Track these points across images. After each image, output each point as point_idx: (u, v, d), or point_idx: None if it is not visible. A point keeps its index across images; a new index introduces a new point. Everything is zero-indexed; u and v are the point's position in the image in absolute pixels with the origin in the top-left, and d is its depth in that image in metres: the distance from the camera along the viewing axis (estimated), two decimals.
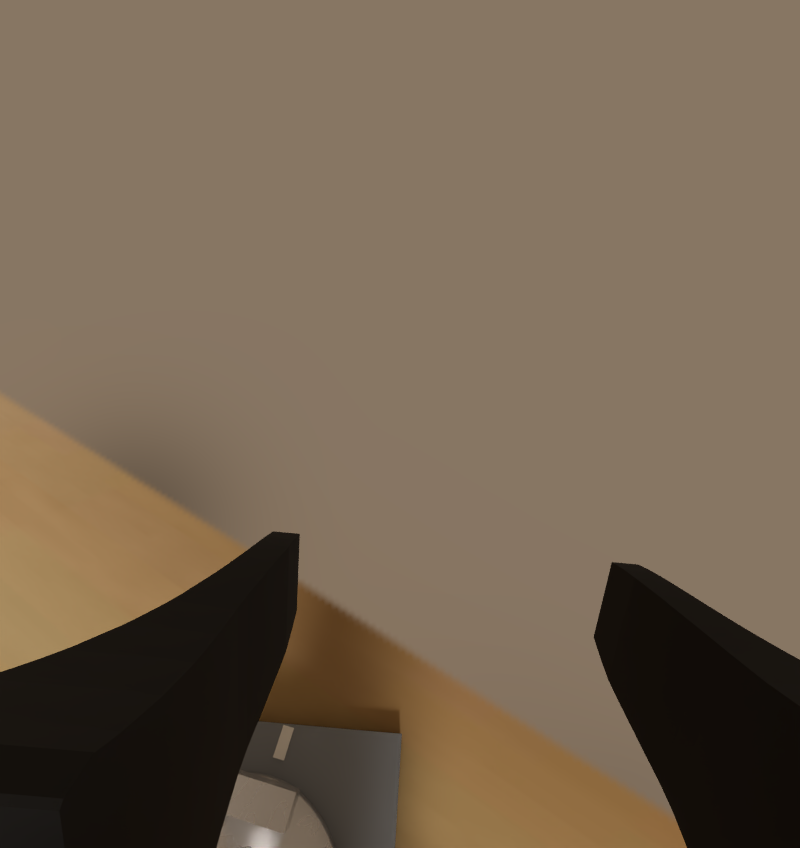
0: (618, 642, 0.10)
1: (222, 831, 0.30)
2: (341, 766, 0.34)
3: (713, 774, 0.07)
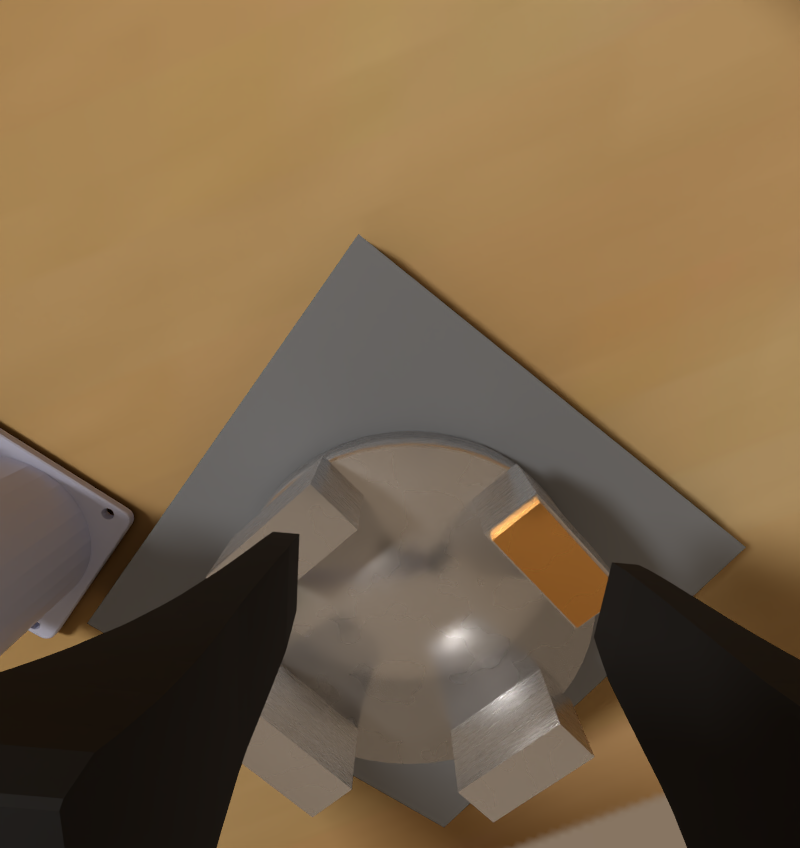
0: (618, 642, 0.10)
1: (507, 658, 0.19)
2: None
3: (713, 774, 0.07)
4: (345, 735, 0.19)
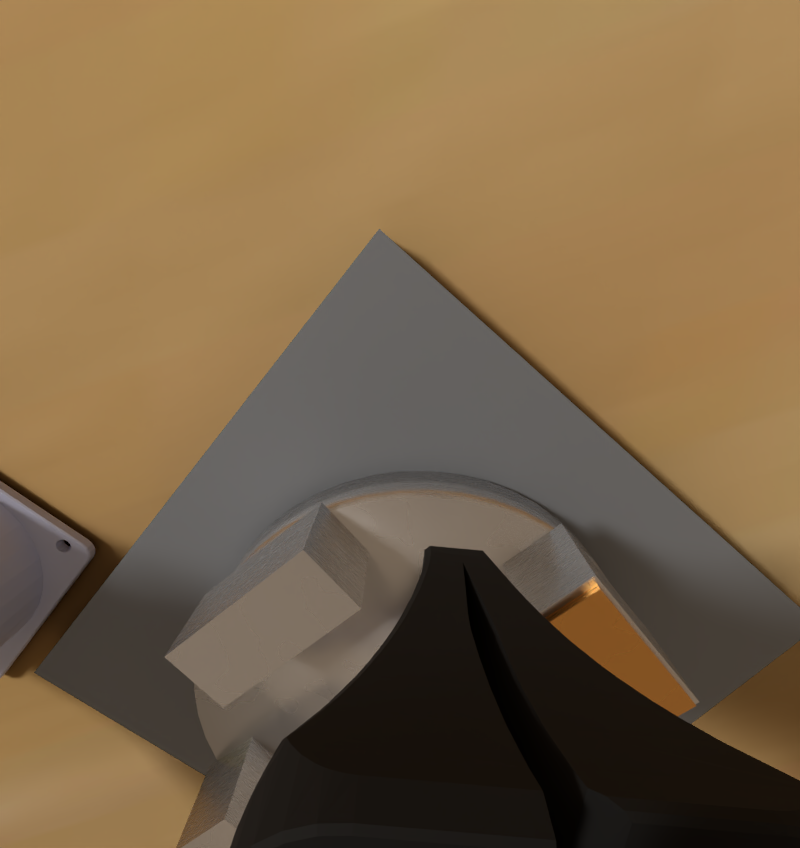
0: None
1: None
2: None
3: None
4: None
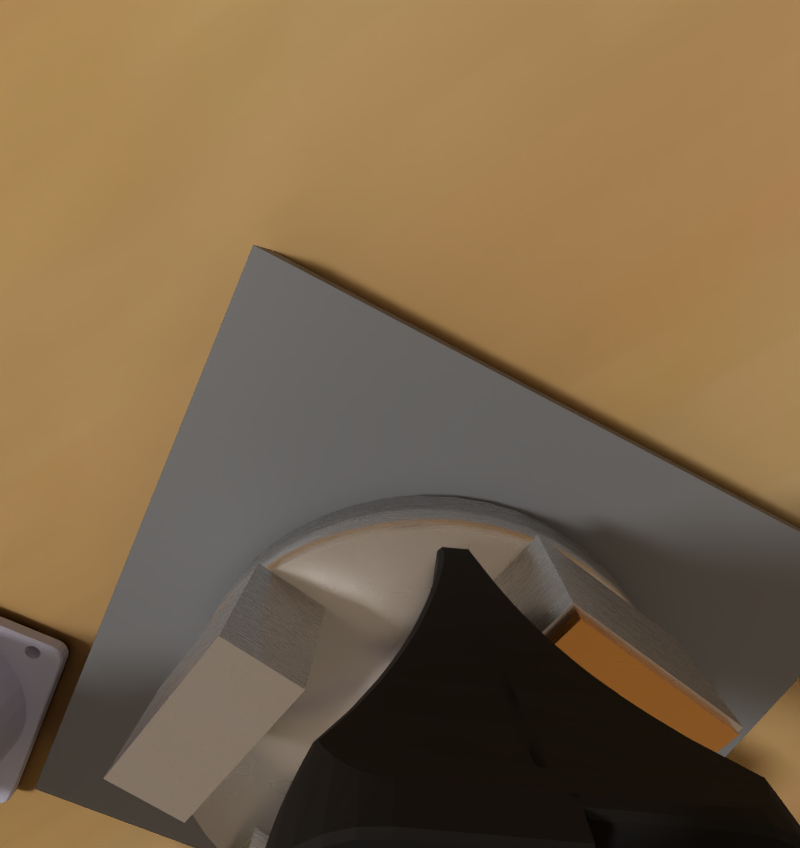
0: None
1: None
2: None
3: None
4: None
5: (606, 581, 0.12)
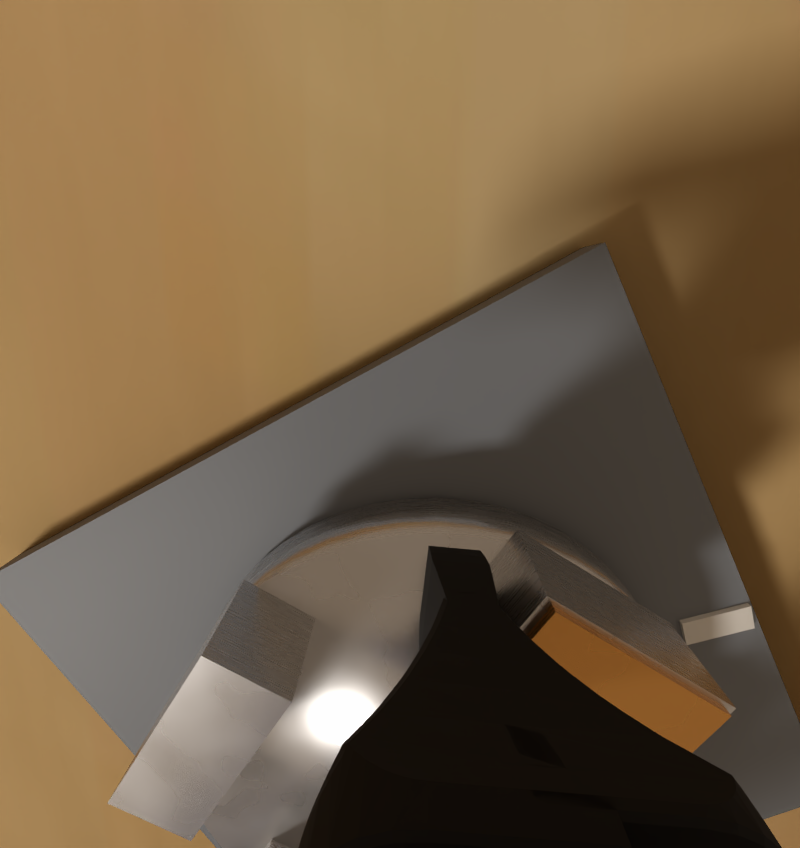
0: (424, 625, 0.10)
1: None
2: (725, 736, 0.16)
3: None
4: None
5: (594, 569, 0.12)
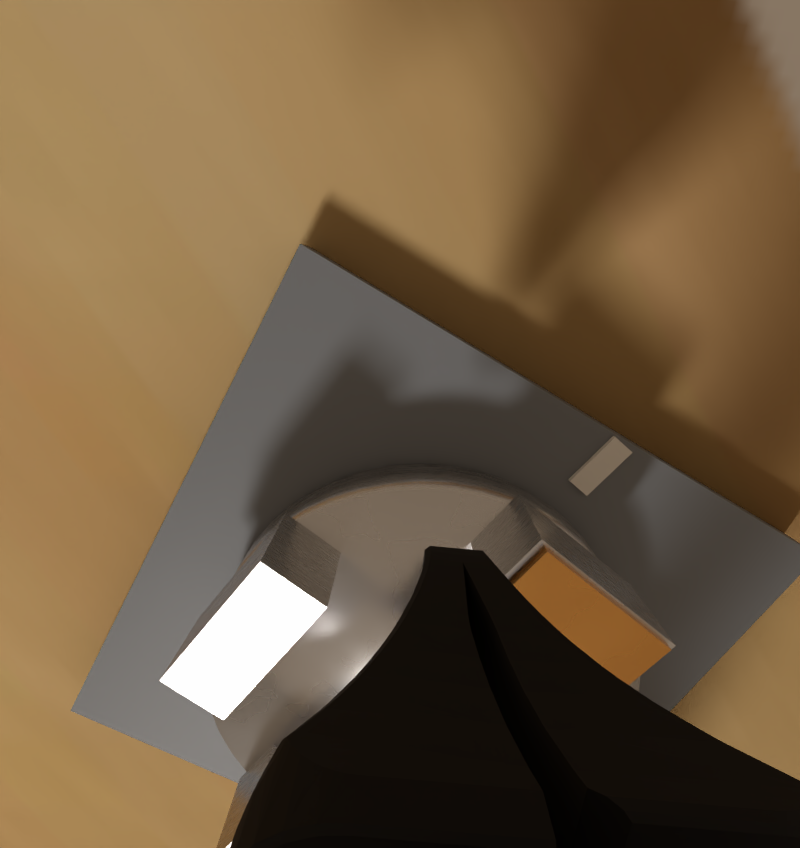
0: None
1: None
2: (681, 551, 0.17)
3: None
4: None
5: (575, 536, 0.14)
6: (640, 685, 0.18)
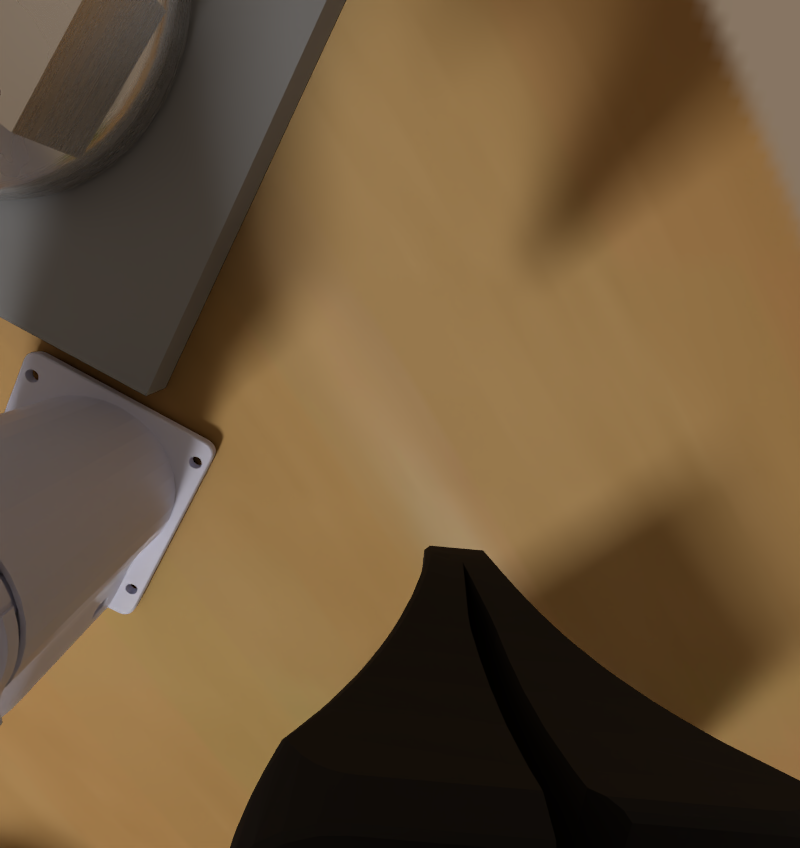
0: None
1: None
2: None
3: None
4: None
5: None
6: (249, 27, 0.15)
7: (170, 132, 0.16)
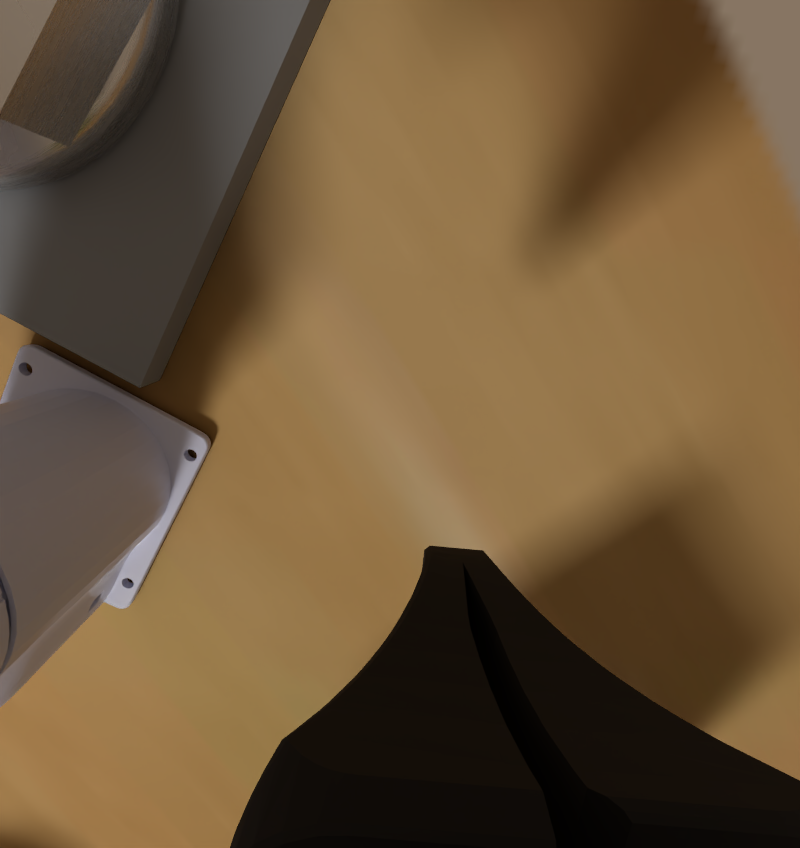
0: None
1: None
2: None
3: None
4: None
5: None
6: (239, 13, 0.15)
7: (161, 120, 0.15)
